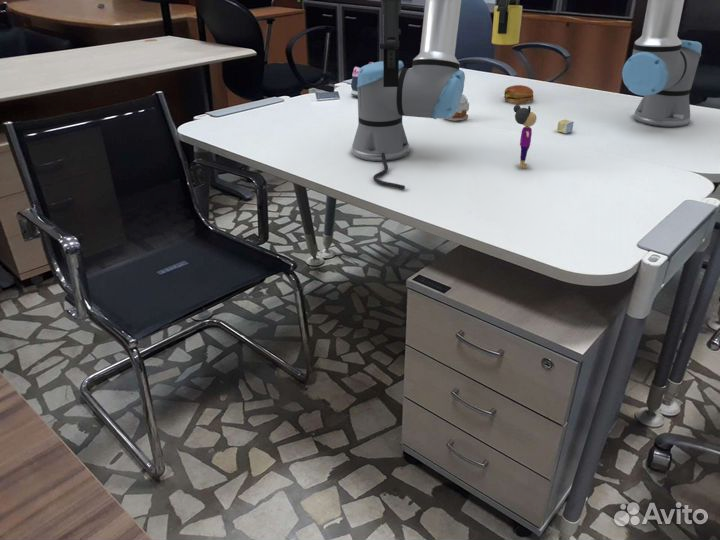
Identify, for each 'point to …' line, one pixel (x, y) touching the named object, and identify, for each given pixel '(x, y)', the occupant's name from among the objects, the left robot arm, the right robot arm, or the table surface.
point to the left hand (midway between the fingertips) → (390, 78)
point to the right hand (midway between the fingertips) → (506, 31)
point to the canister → (508, 26)
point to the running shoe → (355, 81)
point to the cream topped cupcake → (461, 110)
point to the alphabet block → (565, 126)
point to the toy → (524, 130)
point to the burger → (518, 94)
